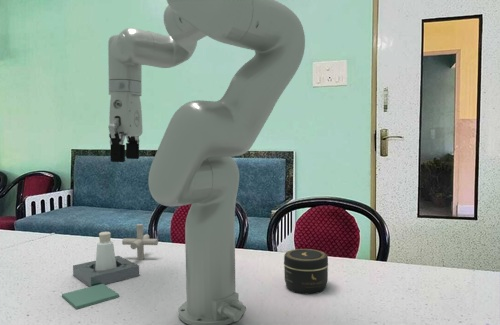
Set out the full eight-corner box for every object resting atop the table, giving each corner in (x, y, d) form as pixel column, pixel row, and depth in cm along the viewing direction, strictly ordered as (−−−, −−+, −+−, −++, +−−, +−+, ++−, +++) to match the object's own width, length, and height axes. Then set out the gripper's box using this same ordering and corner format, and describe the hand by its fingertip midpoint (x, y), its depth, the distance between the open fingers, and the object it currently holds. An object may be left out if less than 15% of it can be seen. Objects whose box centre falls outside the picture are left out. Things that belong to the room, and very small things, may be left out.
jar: (293, 297, 83) (293, 262, 83) (278, 281, 93) (277, 250, 92) (336, 292, 86) (336, 258, 85) (316, 277, 95) (316, 246, 95)
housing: (139, 275, 98) (139, 265, 98) (91, 288, 90) (90, 277, 90) (118, 265, 107) (118, 255, 107) (73, 275, 99) (72, 265, 98)
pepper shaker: (95, 273, 100) (94, 231, 99) (117, 271, 102) (116, 229, 101) (93, 280, 95) (92, 236, 94) (117, 278, 96) (115, 234, 96)
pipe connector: (163, 254, 117) (162, 221, 116) (151, 264, 107) (150, 228, 106) (130, 253, 118) (130, 220, 117) (116, 263, 108) (115, 228, 107)
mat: (119, 296, 84) (119, 294, 84) (76, 309, 78) (76, 306, 78) (102, 286, 91) (102, 283, 91) (61, 296, 85) (61, 294, 85)
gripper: (127, 85, 84) (127, 163, 86) (151, 92, 102) (151, 158, 103) (93, 84, 85) (94, 162, 86) (123, 92, 102) (123, 157, 103)
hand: (125, 160), depth 95 cm, fingers open, 9 cm apart
